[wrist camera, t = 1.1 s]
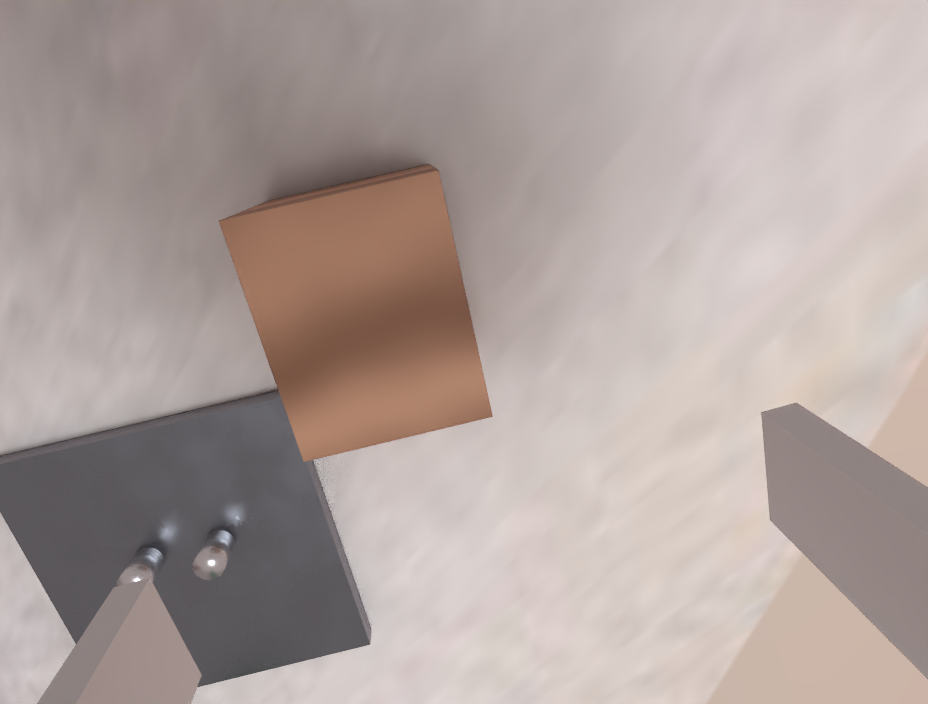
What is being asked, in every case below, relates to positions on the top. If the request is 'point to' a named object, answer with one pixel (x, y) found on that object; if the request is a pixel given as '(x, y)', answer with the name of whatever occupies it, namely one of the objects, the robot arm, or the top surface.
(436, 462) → the top surface
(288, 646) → the boss plate
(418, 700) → the top surface
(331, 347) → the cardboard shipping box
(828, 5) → the top surface
